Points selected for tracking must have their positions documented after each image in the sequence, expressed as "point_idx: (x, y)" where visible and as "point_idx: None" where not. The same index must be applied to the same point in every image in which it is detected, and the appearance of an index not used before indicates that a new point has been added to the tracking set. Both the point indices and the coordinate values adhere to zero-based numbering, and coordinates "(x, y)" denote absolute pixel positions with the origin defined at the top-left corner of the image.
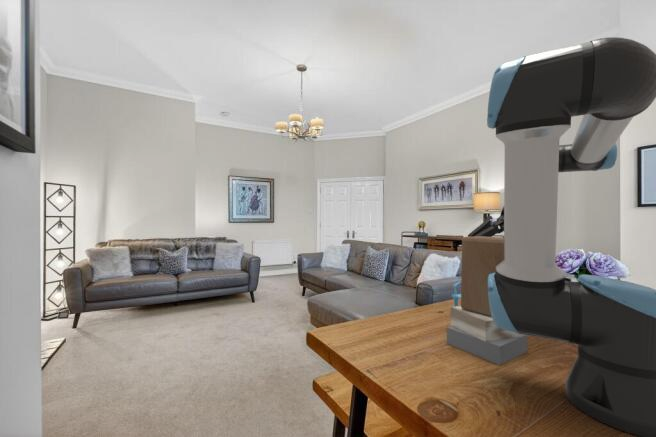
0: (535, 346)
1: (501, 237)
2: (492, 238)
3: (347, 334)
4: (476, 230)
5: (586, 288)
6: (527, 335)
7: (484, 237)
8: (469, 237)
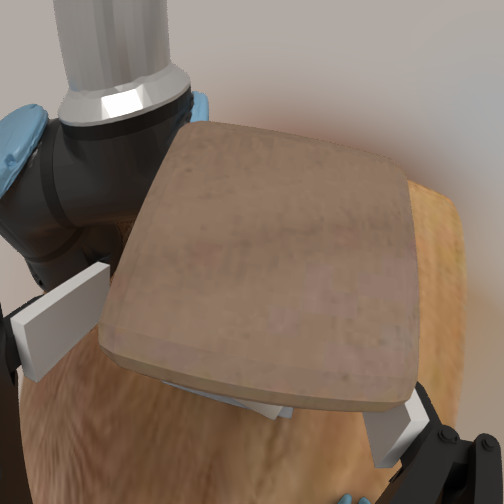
0: (158, 425)
1: (188, 341)
2: (222, 128)
3: (431, 226)
4: (484, 498)
5: (48, 118)
6: (161, 381)
7: (292, 183)
8: (366, 154)
